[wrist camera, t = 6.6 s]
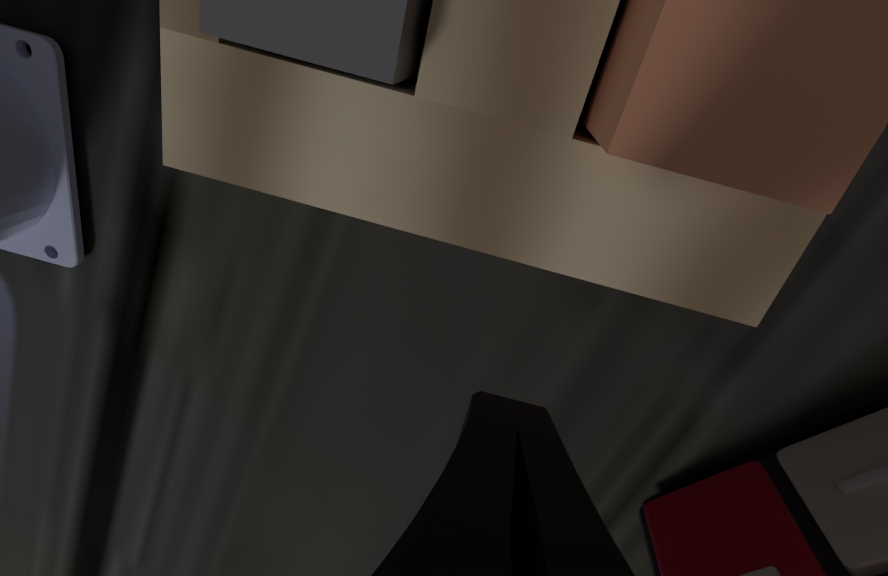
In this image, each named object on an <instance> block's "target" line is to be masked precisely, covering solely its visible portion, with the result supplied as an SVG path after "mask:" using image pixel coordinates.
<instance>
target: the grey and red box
mask: <svg viewBox="0 0 888 576" xmlns="http://www.w3.org/2000/svg"><path fill="white" fill-rule="evenodd" d="M639 519H640V524H641V527H642V531H643V535H644V539H645V543H646V547H647V551H648V555H649V559H650V563H651V567H652V571H653V575H654V576H888V407H887V408H884V409H882V410H879V411H877V412H874V413H872V414H869V415H866V416H864V417H861V418H859V419H856V420H854V421H851V422H849V423H846V424H843V425H841V426H838V427H836V428H833V429H831V430H828V431H826V432H823V433H821V434H818V435H815V436H813V437H810V438H808V439H805V440H803V441H800V442H798V443H795V444H792V445H790V446H787V447H785V448H783V449H781V450H779V451H778V452H776V453H773V454H770V455H768V456H765V457H763V458H760V459H758V460H755V461H750V462H747V463H744V464H741V465H739V466H736V467H734V468H731V469H729V470H726V471H724V472H721V473H718V474H716V475H713V476H711V477H708V478H706V479H703V480H701V481H698V482H695V483H693V484H690V485H688V486H685V487H683V488H680V489H678V490H675V491H672V492H670V493H667V494H665V495H662V496H660V497H657V498H654V499H652V500H650V501H648V502H647V503H646V504H644V505H642V507H641V508H640V510H639Z"/></svg>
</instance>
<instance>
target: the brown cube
mask: <svg viewBox="0 0 888 576" xmlns="http://www.w3.org/2000/svg"><path fill="white" fill-rule="evenodd" d="M887 123H888V0H626V2H625V5H624V8H623V11H622V14H621V16H620V19H619V22H618V25H617V28H616V31H615V33H614V36H613V39H612V42H611V45H610V48H609V50H608V53H607V56H606V59H605V62H604V65H603V67H602V70H601V73H600V76H599V79H598V82H597V84H596V87H595V90H594V93H593V96H592V99H591V101H590V104H589V107H588V110H587V113H586V116H585V118H584V121H583V124H584V125H585V126H586V128H587V129H588V130H589V131H590V133H591V134H592V135H593V137H594V138H595V139H596V140H597V142H598V143H599V144H600V146H601V147H602V148H603V150H604V151H605V152H606V153H607V154H609V155H613V156H617V157H620V158H624V159H628V160H631V161H635V162H639V163H642V164H646V165H650V166H654V167H657V168H661V169H665V170H668V171H672V172H676V173H679V174H683V175H687V176H690V177H694V178H698V179H702V180H705V181H709V182H713V183H716V184H720V185H724V186H727V187H731V188H735V189H738V190H742V191H746V192H750V193H753V194H757V195H761V196H764V197H768V198H772V199H775V200H779V201H783V202H787V203H790V204H794V205H798V206H801V207H805V208H809V209H812V210H816V211H820V212H823V213H827V214H831V213H832V211H833V210H834V208H835V207H836V205H837V203H838V202H839V200H840V199H841V197H842V195H843V194H844V192H845V191H846V189H847V187H848V186H849V184H850V183H851V181H852V179H853V178H854V176H855V175H856V173H857V171H858V170H859V168H860V167H861V165H862V163H863V162H864V160H865V159H866V157H867V155H868V154H869V152H870V151H871V149H872V147H873V146H874V144H875V143H876V141H877V139H878V138H879V136H880V135H881V133H882V131H883V130H884V128H885V127H886V125H887Z"/></svg>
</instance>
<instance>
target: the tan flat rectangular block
mask: <svg viewBox="0 0 888 576" xmlns="http://www.w3.org/2000/svg"><path fill="white" fill-rule="evenodd" d="M619 2H620V0H433V4H432V9H431V14H430V19H429V24H428V29H427V34H426V39H425V44H424V49H423V54H422V59H421V64H420V69H419V74H418V79H417V82H416V81H413V80H409V79H406V80H404V81H401V82H398V83H396V84H393V85H392V84H388V83H384V82H381V81H377V80H373V79H369V78H366V77H362V76H358V75H355V74H351V73H347V72H344V71H340V70H336V69H333V68H329V67H325V66H321V65H318V64H314V63H310V62H307V61H303V60H299V59H296V58H292V57H288V56H284V55H281V54H277V53H273V52H270V51H266V50H262V49H259V48H255V47H251V46H247V45H244V44H240V43H236V42H233V41H229V40H225V39H222V38H218V37H214V36H211V35H207V34H203V33H199V4H200V0H160V46H161V92H162V138H163V165H165V166H169V167H172V168H176V169H180V170H183V171H187V172H190V173H194V174H198V175H201V176H205V177H209V178H212V179H216V180H220V181H223V182H227V183H231V184H234V185H238V186H242V187H245V188H249V189H253V190H256V191H260V192H264V193H267V194H271V195H275V196H278V197H282V198H286V199H289V200H293V201H297V202H300V203H304V204H308V205H311V206H315V207H318V208H322V209H326V210H329V211H333V212H337V213H340V214H344V215H348V216H351V217H355V218H359V219H362V220H366V221H370V222H373V223H377V224H381V225H384V226H388V227H392V228H395V229H399V230H403V231H406V232H410V233H414V234H417V235H421V236H425V237H428V238H432V239H436V240H439V241H443V242H447V243H450V244H454V245H457V246H461V247H465V248H468V249H472V250H476V251H479V252H483V253H487V254H490V255H494V256H498V257H501V258H505V259H509V260H512V261H516V262H520V263H523V264H527V265H531V266H534V267H538V268H542V269H545V270H549V271H553V272H556V273H560V274H564V275H567V276H571V277H575V278H578V279H582V280H586V281H589V282H593V283H596V284H600V285H604V286H607V287H611V288H615V289H618V290H622V291H626V292H629V293H633V294H637V295H640V296H644V297H648V298H651V299H655V300H659V301H662V302H666V303H670V304H673V305H677V306H681V307H684V308H688V309H692V310H695V311H699V312H703V313H706V314H710V315H714V316H717V317H721V318H724V319H728V320H732V321H735V322H739V323H743V324H746V325H750V326H754V327H757V326H758V324H759V323H760V321H761V319H762V318H763V316H764V315H765V313H766V311H767V310H768V308H769V307H770V305H771V303H772V302H773V300H774V298H775V297H776V295H777V294H778V292H779V290H780V289H781V287H782V286H783V284H784V282H785V281H786V279H787V278H788V276H789V274H790V273H791V271H792V269H793V268H794V266H795V265H796V263H797V261H798V260H799V258H800V257H801V255H802V253H803V252H804V250H805V249H806V247H807V245H808V244H809V242H810V240H811V239H812V237H813V236H814V234H815V232H816V231H817V229H818V228H819V226H820V224H821V223H822V221H823V220H824V218H825V216H826V215H827V213H823V212H820V211H816V210H812V209H809V208H805V207H801V206H798V205H794V204H790V203H787V202H783V201H779V200H775V199H772V198H768V197H764V196H761V195H757V194H753V193H750V192H746V191H742V190H738V189H735V188H731V187H727V186H724V185H720V184H716V183H713V182H709V181H705V180H702V179H698V178H694V177H690V176H687V175H683V174H679V173H676V172H672V171H668V170H665V169H661V168H657V167H654V166H650V165H646V164H642V163H639V162H635V161H631V160H628V159H624V158H620V157H617V156H613V155H609V154H607V153H606V152H605V151H604V150H603V148H602V147H601V146H600V144H599V143H598V142H597V140H596V139H595V138H594V137H593V135H592V134H591V133H590V131H589V130H588V129H587V128H586V127H583V126H579V125H577V123H578V120H579V117H580V114H581V111H582V108H583V105H584V102H585V100H586V97H587V94H588V91H589V88H590V85H591V82H592V79H593V77H594V74H595V71H596V68H597V65H598V62H599V59H600V56H601V54H602V51H603V48H604V45H605V42H606V39H607V36H608V33H609V31H610V28H611V25H612V22H613V19H614V16H615V13H616V11H617V8H618V5H619Z"/></svg>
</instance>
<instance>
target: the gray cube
mask: <svg viewBox="0 0 888 576" xmlns="http://www.w3.org/2000/svg"><path fill="white" fill-rule="evenodd" d="M432 4H433V0H200V4H199V33H203V34H207V35H211V36H214V37H218V38H222V39H225V40H229V41H233V42H236V43H240V44H244V45H247V46H251V47H255V48H259V49H262V50H266V51H270V52H273V53H277V54H281V55H284V56H288V57H292V58H296V59H299V60H303V61H307V62H310V63H314V64H318V65H321V66H325V67H329V68H333V69H336V70H340V71H344V72H347V73H351V74H355V75H358V76H362V77H366V78H369V79H373V80H377V81H381V82H384V83H388V84H392V85H393V84H396V83H398V82H401V81H404V80H406V79H409V78H412V77H415V76H417V75H418V74H419V69H420V64H421V59H422V54H423V49H424V44H425V39H426V34H427V29H428V24H429V19H430V14H431V9H432Z"/></svg>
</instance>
